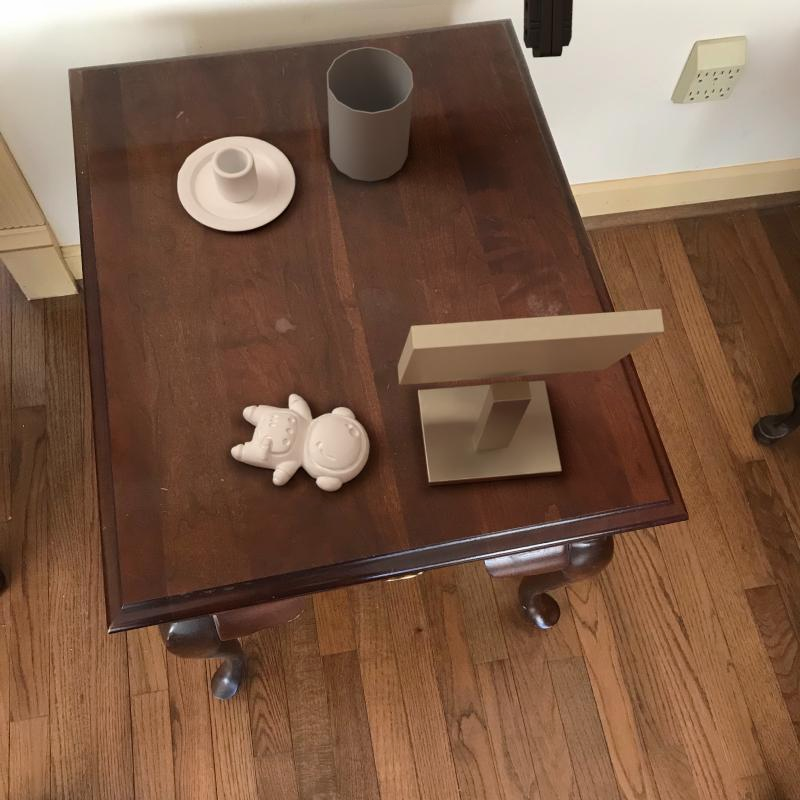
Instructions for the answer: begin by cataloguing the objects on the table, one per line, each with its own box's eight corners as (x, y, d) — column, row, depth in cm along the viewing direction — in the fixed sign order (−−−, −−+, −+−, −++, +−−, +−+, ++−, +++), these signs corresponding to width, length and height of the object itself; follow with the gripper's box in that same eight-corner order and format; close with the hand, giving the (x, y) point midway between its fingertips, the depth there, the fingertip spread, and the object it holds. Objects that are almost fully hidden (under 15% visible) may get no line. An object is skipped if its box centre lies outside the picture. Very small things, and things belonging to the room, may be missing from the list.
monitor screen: (397, 363, 68) (410, 323, 55) (601, 349, 69) (661, 306, 56) (399, 385, 67) (413, 349, 54) (604, 369, 69) (664, 331, 56)
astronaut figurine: (255, 386, 78) (252, 372, 75) (379, 420, 77) (380, 407, 74) (223, 472, 74) (217, 460, 71) (352, 508, 73) (352, 498, 71)
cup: (389, 191, 87) (393, 124, 78) (317, 166, 88) (312, 96, 79) (418, 133, 91) (425, 62, 81) (348, 109, 91) (348, 36, 82)
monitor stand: (416, 394, 78) (427, 333, 67) (542, 385, 79) (572, 323, 68) (428, 486, 74) (440, 437, 63) (559, 475, 76) (594, 425, 64)
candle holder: (159, 168, 87) (150, 139, 83) (262, 125, 90) (258, 96, 86) (209, 253, 83) (202, 227, 79) (316, 205, 86) (314, 178, 82)
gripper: (452, -293, 44) (457, 60, 51) (693, -294, 45) (667, 51, 52) (432, -243, 51) (438, 62, 58) (641, -245, 52) (624, 54, 59)
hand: (547, 56), depth 55 cm, fingers closed
